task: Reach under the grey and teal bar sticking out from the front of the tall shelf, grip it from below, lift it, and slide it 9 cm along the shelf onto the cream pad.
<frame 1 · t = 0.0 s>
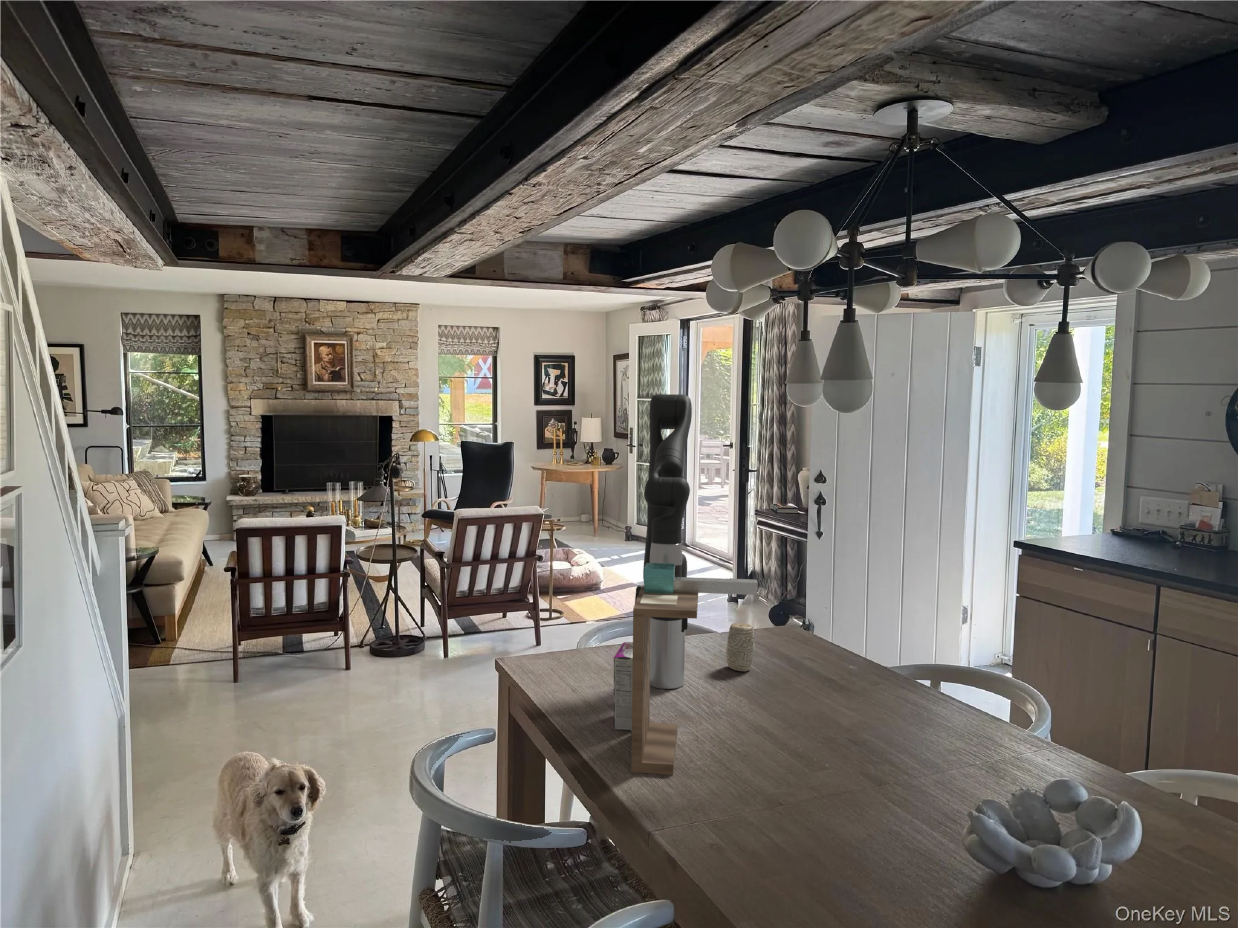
hand: (664, 630, 195), 17 cm above the table, tool pointing down, fingers open, 8 cm apart
grey and teal bar: (659, 589, 172), point 32 cm above the table, touching bracket shelf
carving: (739, 669, 221), on the table
candy bar box: (628, 722, 184), on the table
bracket shelf: (655, 751, 168), on the table
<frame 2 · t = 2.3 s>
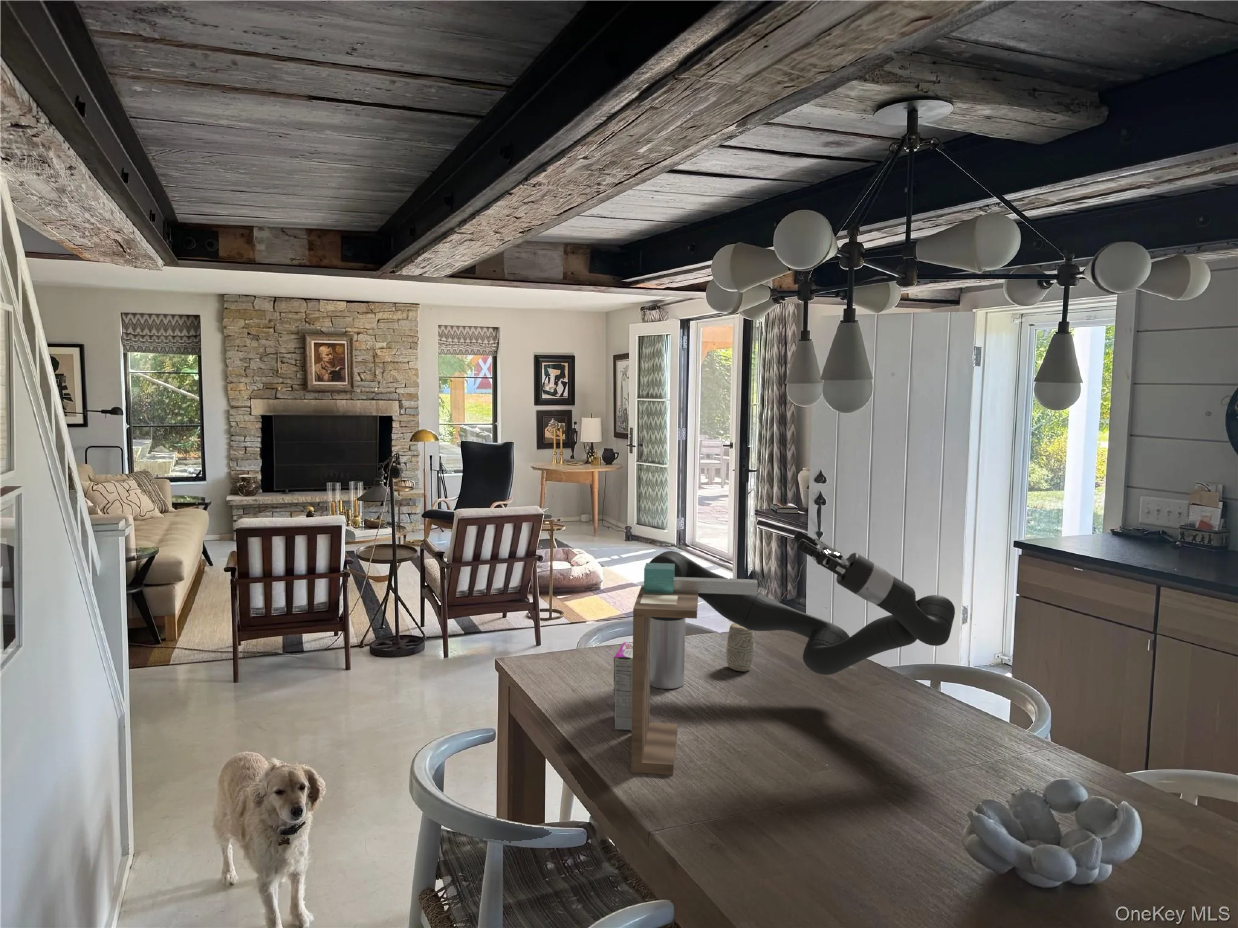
hand: (797, 538, 173), 43 cm above the table, tool pointing upward, fingers open, 8 cm apart
nothing on the table moved.
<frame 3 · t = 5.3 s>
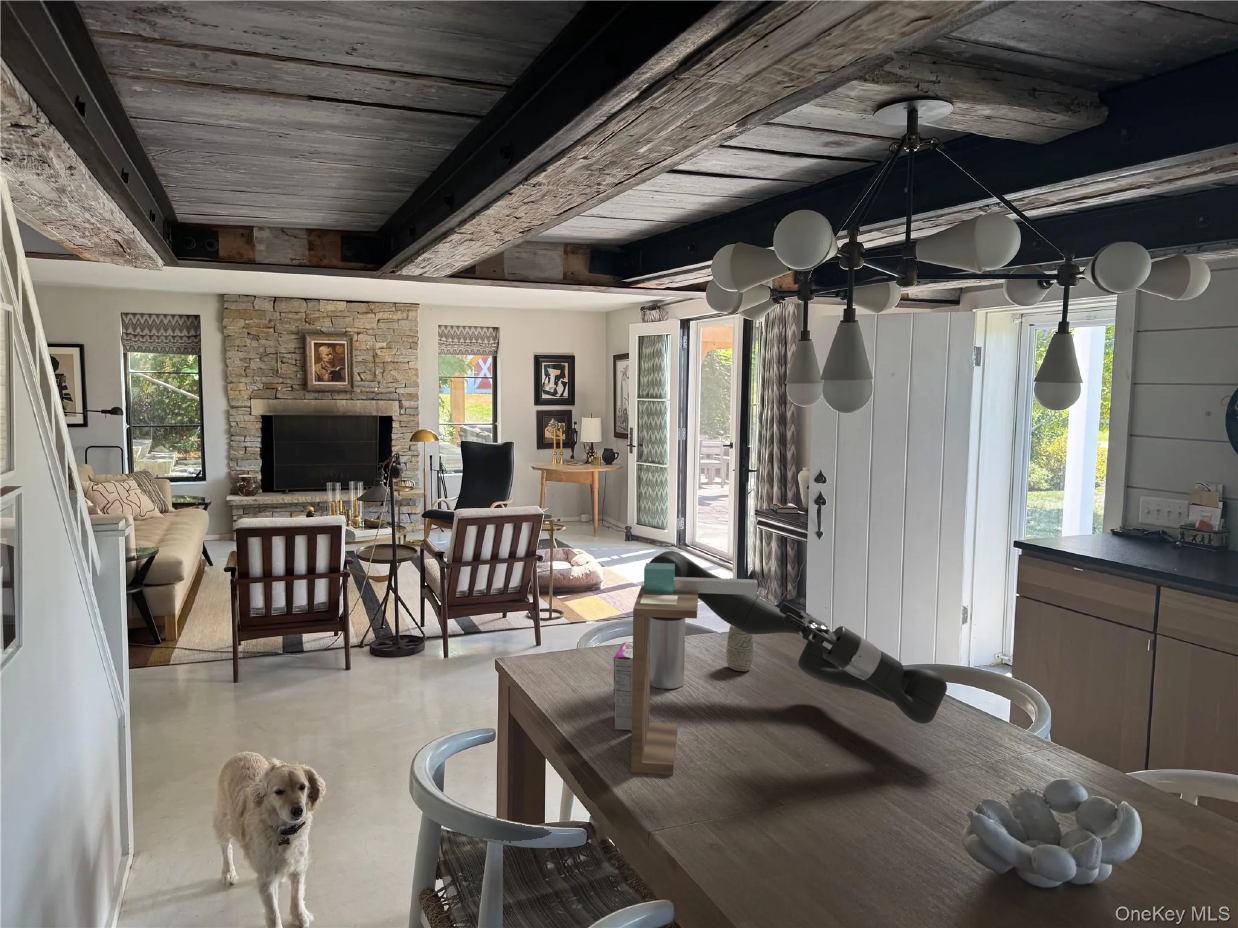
hand: (782, 611, 169), 28 cm above the table, tool pointing upward, fingers open, 8 cm apart
nothing on the table moved.
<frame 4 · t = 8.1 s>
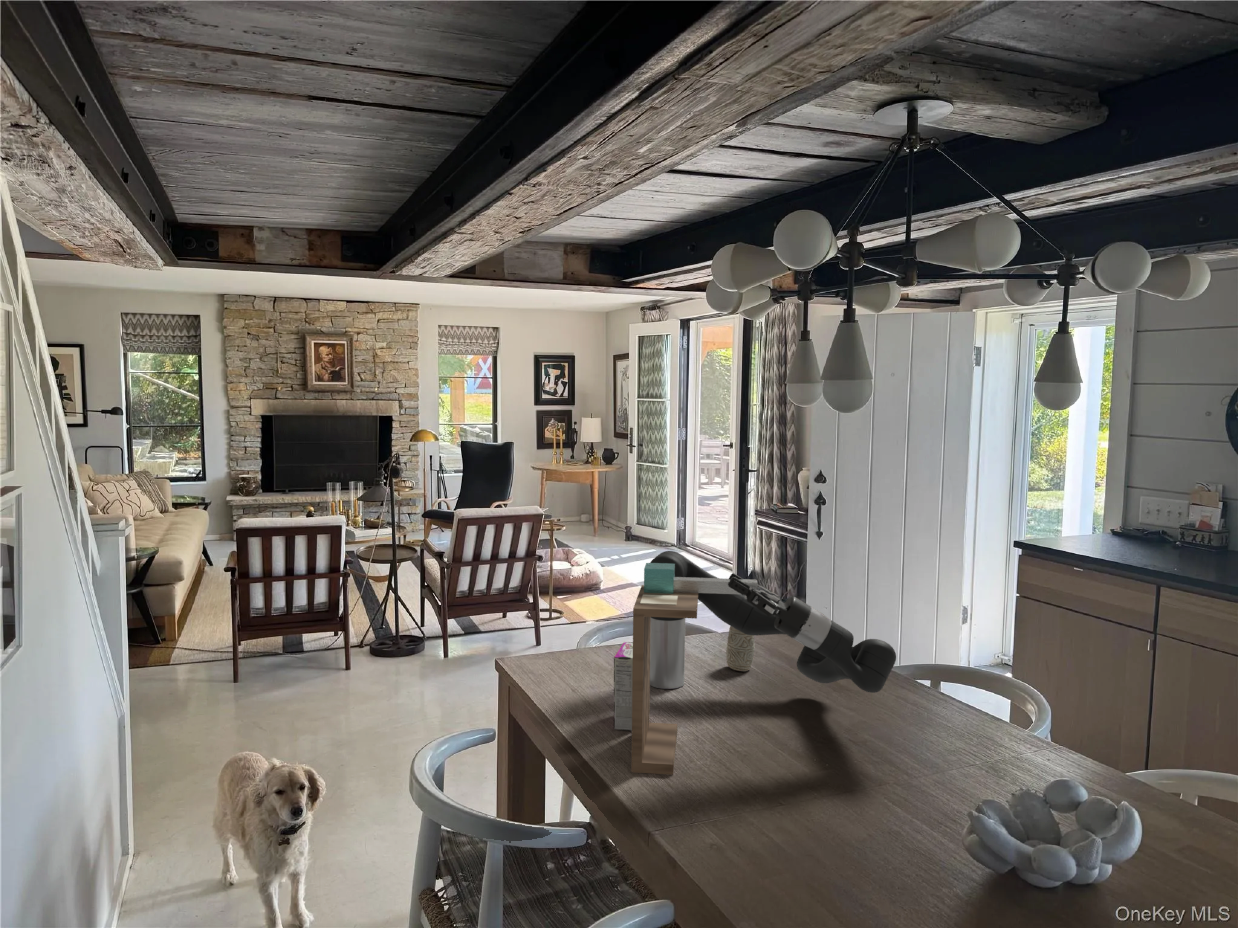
hand: (730, 579, 170), 35 cm above the table, tool pointing upward, fingers closed on grey and teal bar, 3 cm apart
grey and teal bar: (659, 589, 172), point 32 cm above the table, touching bracket shelf, gripper
everything else where it was.
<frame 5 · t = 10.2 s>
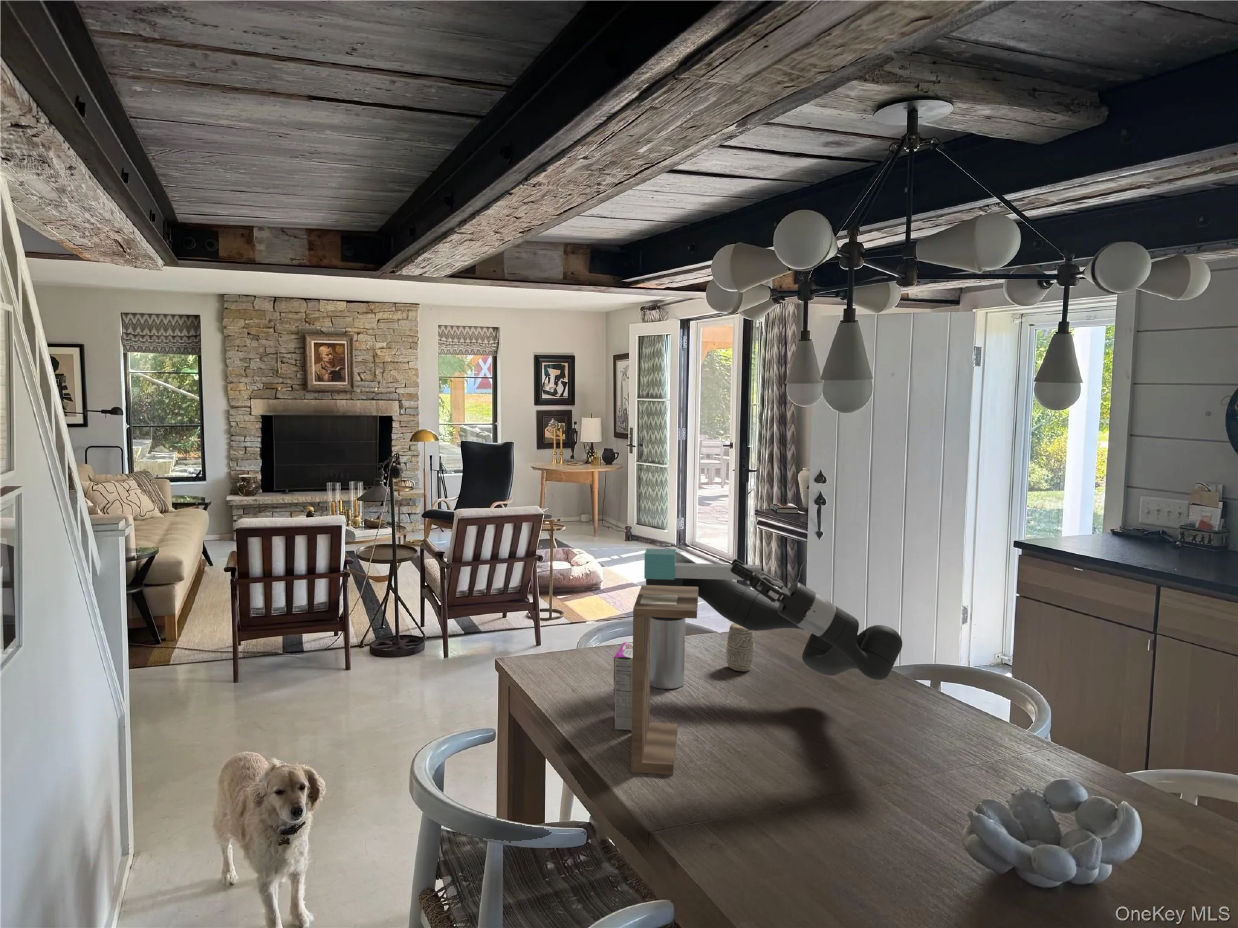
hand: (732, 564, 166), 39 cm above the table, tool pointing upward, fingers closed on grey and teal bar, 3 cm apart
grey and teal bar: (660, 575, 168), point 36 cm above the table, touching gripper
everything else where it was.
when the fingers open (36 cm above the table, at t = 12.3 s): grey and teal bar stays where it is, resting on bracket shelf.
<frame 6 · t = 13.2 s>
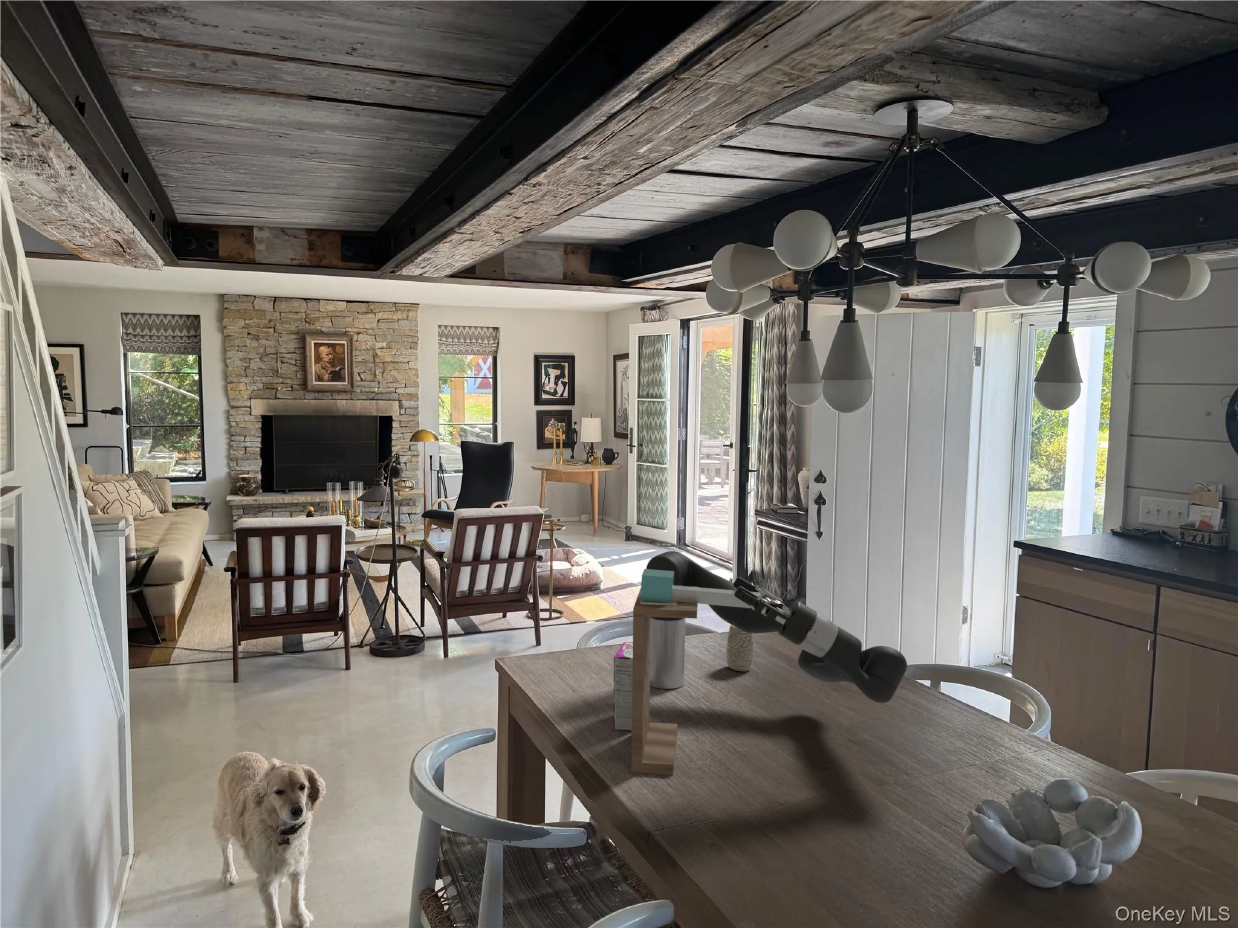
hand: (735, 585, 161), 35 cm above the table, tool pointing upward, fingers open, 8 cm apart
grey and teal bar: (656, 598, 163), point 32 cm above the table, touching bracket shelf
everything else where it was.
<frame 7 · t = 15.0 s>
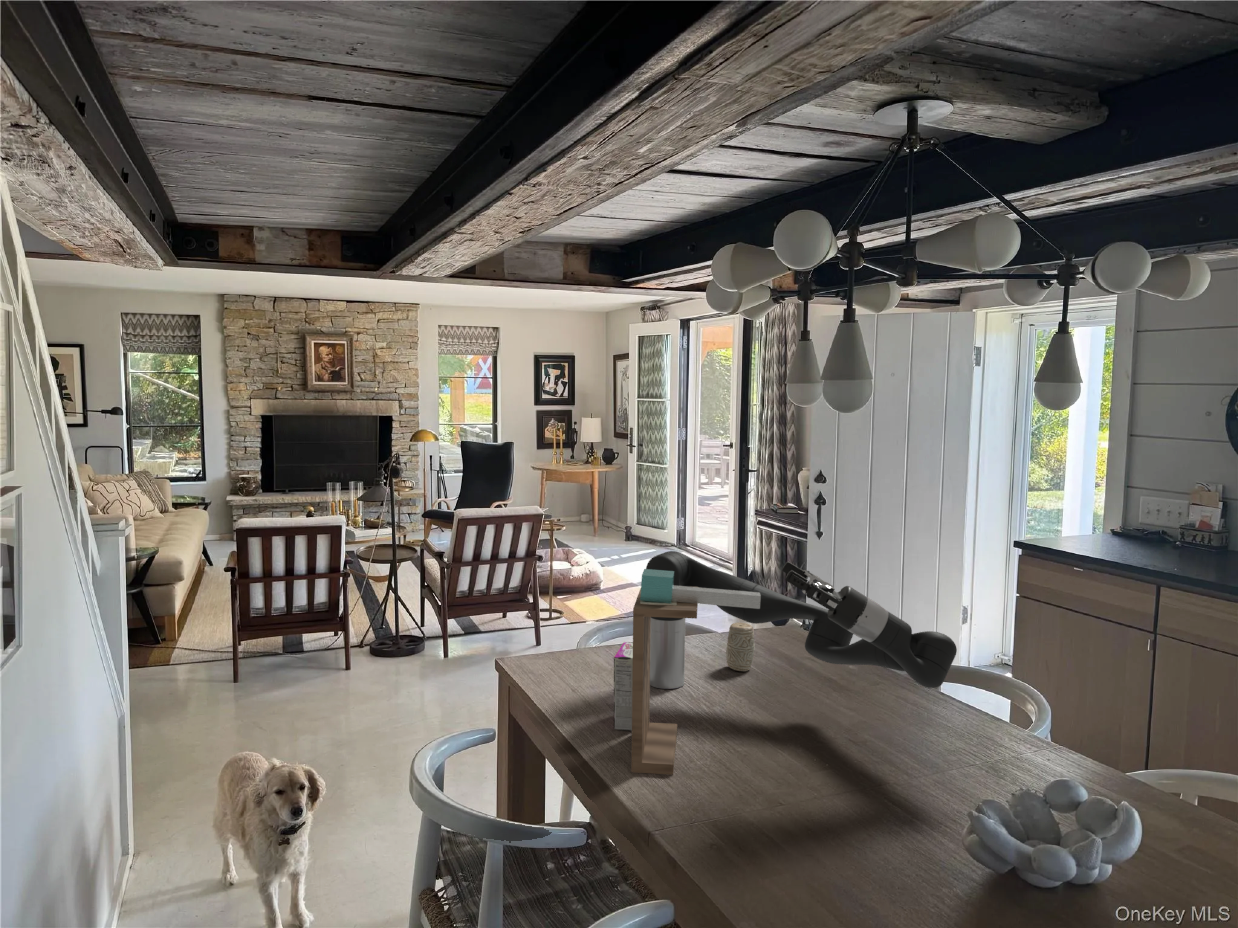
hand: (786, 570, 162), 38 cm above the table, tool pointing upward, fingers open, 8 cm apart
nothing on the table moved.
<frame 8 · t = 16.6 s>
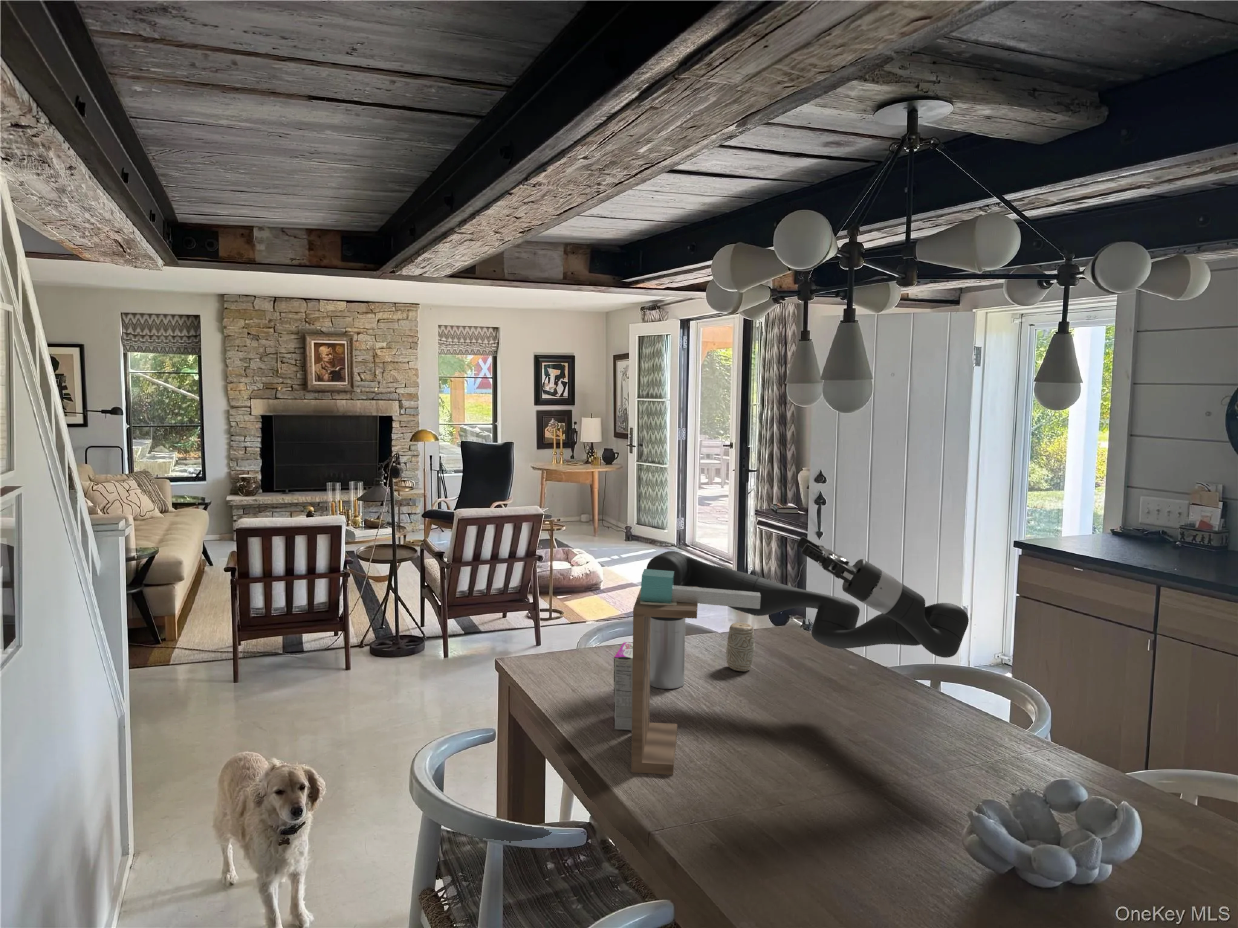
hand: (801, 544, 165), 43 cm above the table, tool pointing upward, fingers open, 8 cm apart
nothing on the table moved.
at the end: grey and teal bar inside the target area (0.5 cm from its centre), point 32.4 cm above the table; the gripper is holding nothing; grey and teal bar tilted 3° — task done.
